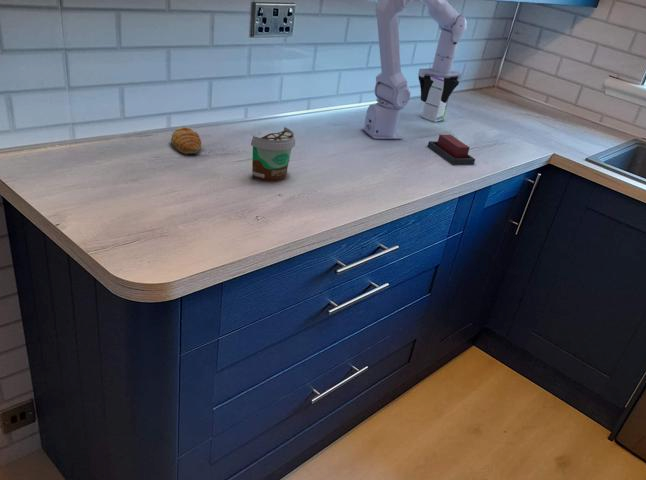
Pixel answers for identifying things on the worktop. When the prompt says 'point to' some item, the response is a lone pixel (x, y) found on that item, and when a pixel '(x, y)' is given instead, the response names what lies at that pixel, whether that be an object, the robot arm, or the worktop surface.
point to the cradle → (448, 157)
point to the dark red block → (453, 146)
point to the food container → (272, 155)
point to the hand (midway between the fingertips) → (433, 101)
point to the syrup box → (435, 101)
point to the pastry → (186, 140)
